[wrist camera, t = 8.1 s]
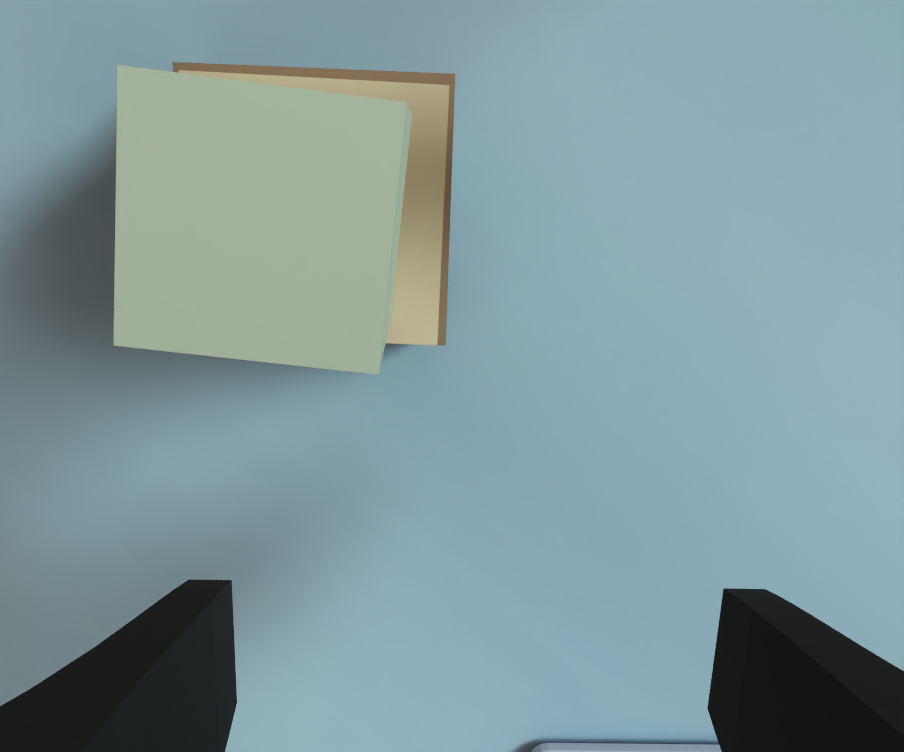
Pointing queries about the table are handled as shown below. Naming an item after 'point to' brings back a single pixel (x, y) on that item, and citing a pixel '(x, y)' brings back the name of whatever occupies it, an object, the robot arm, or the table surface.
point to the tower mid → (421, 194)
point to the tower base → (371, 76)
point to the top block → (256, 219)
